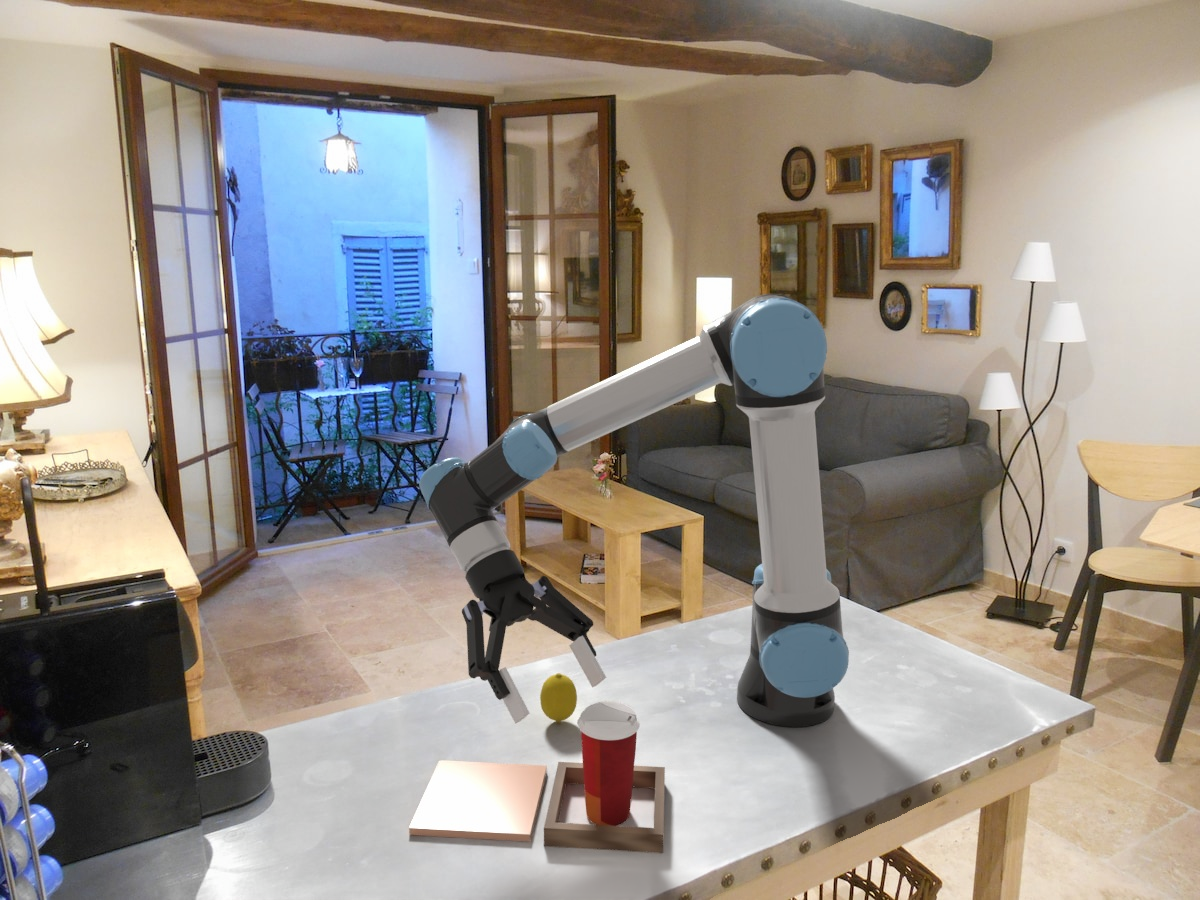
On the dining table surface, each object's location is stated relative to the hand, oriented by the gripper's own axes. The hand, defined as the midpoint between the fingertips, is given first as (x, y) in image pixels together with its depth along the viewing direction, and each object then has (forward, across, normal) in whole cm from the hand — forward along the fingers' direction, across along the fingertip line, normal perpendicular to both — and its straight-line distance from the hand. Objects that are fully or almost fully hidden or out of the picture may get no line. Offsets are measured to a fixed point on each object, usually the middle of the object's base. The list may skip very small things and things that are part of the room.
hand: (562, 700), depth 120 cm
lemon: (0, -12, -19) cm, 22 cm away
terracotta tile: (+6, +9, -13) cm, 17 cm away
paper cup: (+15, -1, -4) cm, 15 cm away
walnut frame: (+15, -1, -4) cm, 15 cm away
